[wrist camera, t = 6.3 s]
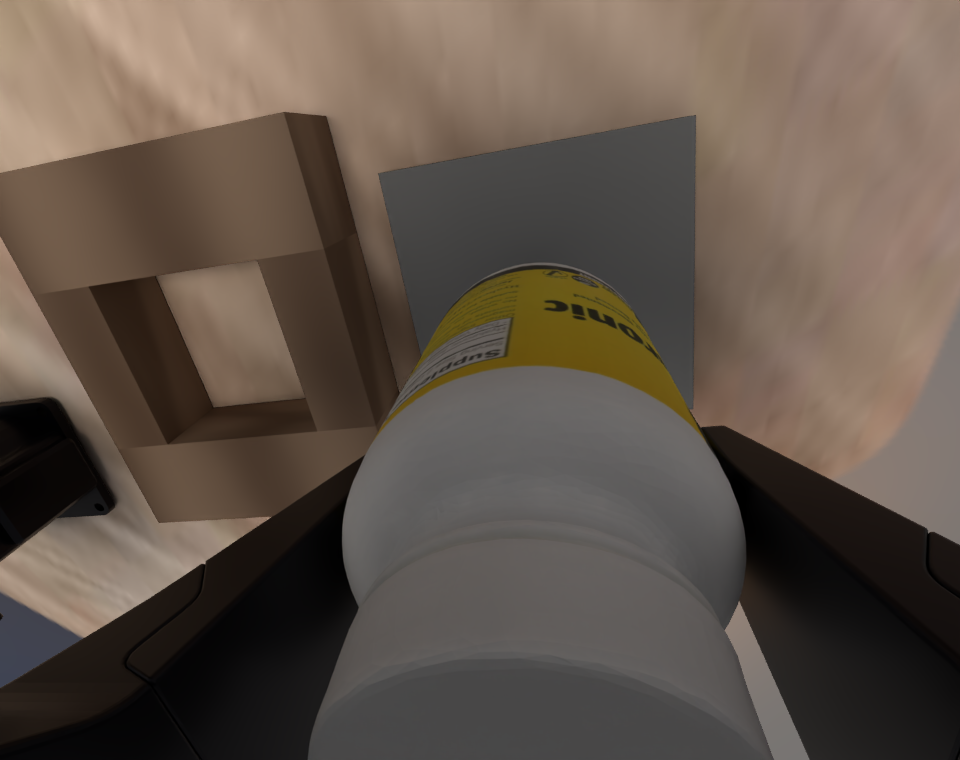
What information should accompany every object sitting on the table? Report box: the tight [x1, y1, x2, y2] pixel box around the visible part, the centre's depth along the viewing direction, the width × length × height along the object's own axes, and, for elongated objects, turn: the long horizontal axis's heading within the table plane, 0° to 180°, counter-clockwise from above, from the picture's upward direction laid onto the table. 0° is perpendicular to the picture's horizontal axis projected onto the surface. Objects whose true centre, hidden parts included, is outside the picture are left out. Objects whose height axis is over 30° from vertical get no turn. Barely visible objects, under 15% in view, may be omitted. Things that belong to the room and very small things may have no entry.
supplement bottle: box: [308, 263, 774, 760], centre depth 9 cm, size 5×5×10 cm
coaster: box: [378, 115, 696, 409], centre depth 18 cm, size 10×10×1 cm
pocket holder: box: [0, 112, 399, 523], centre depth 19 cm, size 11×14×3 cm
